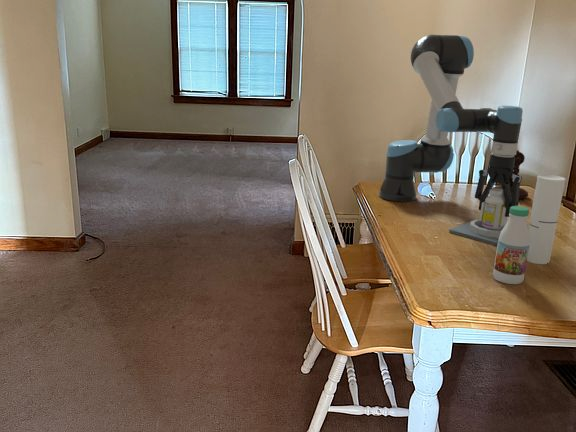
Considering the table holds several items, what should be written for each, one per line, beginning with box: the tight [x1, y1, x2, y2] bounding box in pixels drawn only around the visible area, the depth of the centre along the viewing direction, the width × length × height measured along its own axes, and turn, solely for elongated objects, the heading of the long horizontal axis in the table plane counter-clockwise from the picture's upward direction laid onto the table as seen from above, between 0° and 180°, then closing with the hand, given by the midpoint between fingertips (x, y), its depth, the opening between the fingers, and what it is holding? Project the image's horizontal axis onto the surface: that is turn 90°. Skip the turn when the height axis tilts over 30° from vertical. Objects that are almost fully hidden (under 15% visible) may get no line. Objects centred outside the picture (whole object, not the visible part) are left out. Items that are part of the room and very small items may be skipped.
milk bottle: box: [492, 205, 530, 285], centre depth 138 cm, size 8×8×20 cm
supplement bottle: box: [482, 187, 506, 230], centre depth 175 cm, size 7×7×13 cm
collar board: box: [448, 218, 507, 247], centre depth 177 cm, size 20×20×3 cm
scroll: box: [492, 149, 529, 201], centre depth 224 cm, size 15×15×20 cm
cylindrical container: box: [527, 174, 566, 265], centre depth 152 cm, size 7×7×25 cm
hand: (492, 222), depth 176 cm, fingers closed on supplement bottle, 7 cm apart
